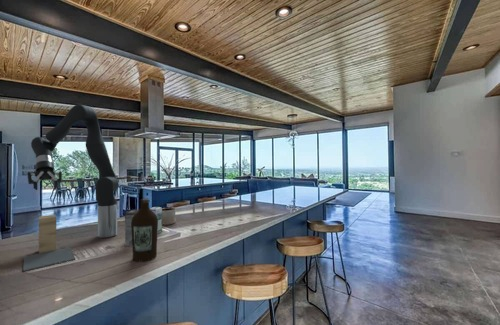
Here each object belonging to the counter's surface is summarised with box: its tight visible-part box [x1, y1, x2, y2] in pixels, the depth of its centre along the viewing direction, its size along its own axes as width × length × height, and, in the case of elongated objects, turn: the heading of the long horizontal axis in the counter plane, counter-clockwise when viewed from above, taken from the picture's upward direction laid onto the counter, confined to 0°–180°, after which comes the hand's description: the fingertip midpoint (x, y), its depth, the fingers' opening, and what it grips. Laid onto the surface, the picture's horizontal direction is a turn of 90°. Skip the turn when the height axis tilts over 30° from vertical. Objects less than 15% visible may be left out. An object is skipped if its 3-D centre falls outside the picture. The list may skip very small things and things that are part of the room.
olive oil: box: [131, 198, 158, 262], centre depth 103 cm, size 11×11×25 cm
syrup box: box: [149, 206, 163, 234], centre depth 139 cm, size 6×6×14 cm
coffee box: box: [124, 209, 140, 247], centre depth 122 cm, size 9×6×16 cm
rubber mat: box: [22, 247, 77, 272], centre depth 102 cm, size 18×16×1 cm
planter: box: [162, 207, 177, 226], centre depth 161 cm, size 11×11×10 cm
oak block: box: [38, 214, 57, 254], centre depth 111 cm, size 6×6×16 cm
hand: (46, 188), depth 120 cm, fingers open, 6 cm apart
